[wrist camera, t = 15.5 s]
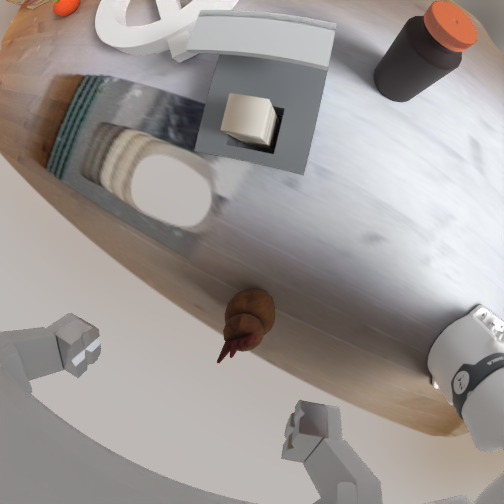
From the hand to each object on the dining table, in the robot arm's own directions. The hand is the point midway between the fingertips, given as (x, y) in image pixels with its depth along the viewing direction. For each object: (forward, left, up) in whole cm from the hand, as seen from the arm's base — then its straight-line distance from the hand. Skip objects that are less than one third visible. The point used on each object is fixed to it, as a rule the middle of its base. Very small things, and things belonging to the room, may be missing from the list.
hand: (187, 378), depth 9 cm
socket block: (+5, -16, -31) cm, 35 cm away
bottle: (-12, -26, -31) cm, 42 cm away
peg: (+5, -13, -31) cm, 34 cm away
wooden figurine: (0, +12, -31) cm, 34 cm away
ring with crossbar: (+28, -38, -32) cm, 57 cm away
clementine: (+58, -43, -31) cm, 79 cm away
